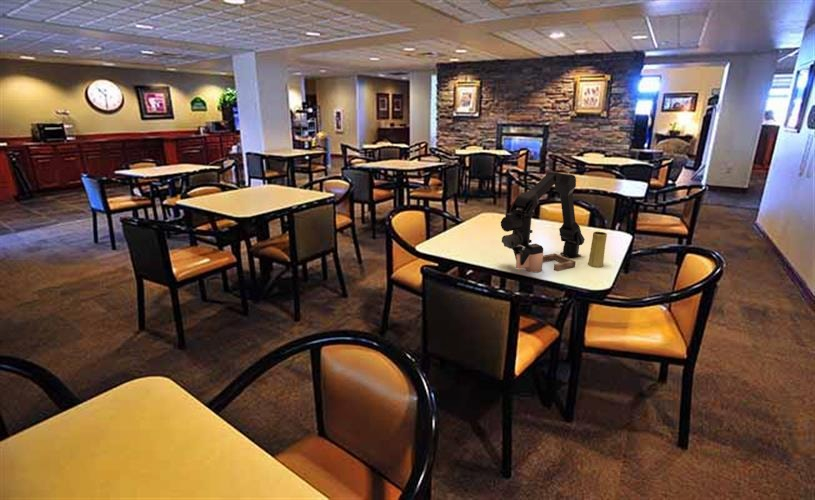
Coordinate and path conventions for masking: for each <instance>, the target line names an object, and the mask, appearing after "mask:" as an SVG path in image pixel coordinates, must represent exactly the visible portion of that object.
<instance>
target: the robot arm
mask: <svg viewBox="0 0 815 500" xmlns="http://www.w3.org/2000/svg"><path fill="white" fill-rule="evenodd" d="M553 186H554V188H555V190H556V191H557V193H558V194H559V197H560V204H561V205H560V207H561V212H562V213H561V214H562V222H563V224H561V227H560V228H558V231H559V236H560V240H561V242H564V244H563V247H562V248H563V249H562V252H560V255H561V256H563V257H566V258H568V259H572V258H573V259H574V258H577V257H578V258H579V257H581V256H582V255H581V254H579V251H580V246H582V245H583V244H585V240H586V239H585V237H584V235H583V234H582V230H581V227H580V225H579V224H578V223H577V222H576V214H575V213H576V212H575V204H574V195H573V192H574V191H575V189H576V186H577V177H576V175H574V174H572V173H571V174H570V173H563V172H559V171H558V172H557V171H547V172H546V173H545V176H544V177H543V178H541V179H540V180H539V181H538V182H537V183H536V184H535V185H534V186H532V188H531V189H529V190H528V191H524V192H522V193H520V194H519V195H518V196H516V198H515V200H514V201H513V204H512V206H511V207H510V209H509V210H508V212H509V213H505V215H504V217H503V218H502V219H501V221H500V227H501V229H502V230H503V231H504V232H512V233H510V234H506V235H503V236H502V237H501V243H502V244H503V246H504V247H506V248H508V249H511V250H512V251H513V253H514V257H515V259H516V256H517V254H519V253H521V259H520V263H521V265H523V264H524V263H525V261H526V260H527V258H528V257H529V255H534V254H539V253H543V254H544V247H543V246H542V245H540V244H538V243H532V242H533V241H532V239H530V238H531V234H533V230H532V229H531V228H532V227H531V226H532V218H533V216H535V215H536V213H535V212H534V210H535V208H537V206H538V205H539V200H540V199H541V198H542V197H543V196H544V195H545V194H546V193H547V192H548V191H549V190H550V189H551V188H553Z"/></svg>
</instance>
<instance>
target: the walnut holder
mask: <svg viewBox="0 0 815 500" xmlns="http://www.w3.org/2000/svg"><path fill="white" fill-rule="evenodd" d="M551 261H552V262H553V261H555V262H557V263H554V265H553V271H554V272H555V271H556V272H559V271H563V270H567V269H572V268H573V269H574V268H575V267H576V261H575V260H573V259H571V258H569V257H566V256H564V255H561V254H557V253H550V254H543V263H545V262H551Z"/></svg>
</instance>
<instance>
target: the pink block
mask: <svg viewBox="0 0 815 500" xmlns="http://www.w3.org/2000/svg"><path fill="white" fill-rule="evenodd" d="M543 255H544V252H543V253H539V254H534V255H529V257H528V258H527V260H526V261H525V263H524V264H523V265H521V263H520V259H521V253H519V254H517V256H516V258H515V260H516V261H515V268H516V269H518V270H521V269H524V270H525V271H527V272H531V273H540V272H541V271H543V263H544V262H543Z"/></svg>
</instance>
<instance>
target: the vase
mask: <svg viewBox="0 0 815 500" xmlns="http://www.w3.org/2000/svg"><path fill="white" fill-rule="evenodd" d="M607 235H608V233H606V232H605V231H594V232H593V234H592V240H591V244H590V245H591V246H590V252H589V259H588V262H587V265H588V266H590V267H593V268H602V267H604V260H605V253H606V252H605V251H606V243H607V237H608V236H607Z"/></svg>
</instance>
